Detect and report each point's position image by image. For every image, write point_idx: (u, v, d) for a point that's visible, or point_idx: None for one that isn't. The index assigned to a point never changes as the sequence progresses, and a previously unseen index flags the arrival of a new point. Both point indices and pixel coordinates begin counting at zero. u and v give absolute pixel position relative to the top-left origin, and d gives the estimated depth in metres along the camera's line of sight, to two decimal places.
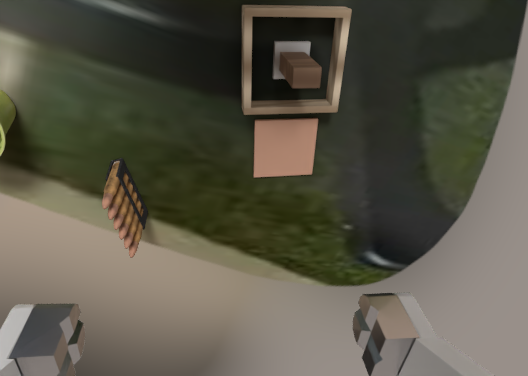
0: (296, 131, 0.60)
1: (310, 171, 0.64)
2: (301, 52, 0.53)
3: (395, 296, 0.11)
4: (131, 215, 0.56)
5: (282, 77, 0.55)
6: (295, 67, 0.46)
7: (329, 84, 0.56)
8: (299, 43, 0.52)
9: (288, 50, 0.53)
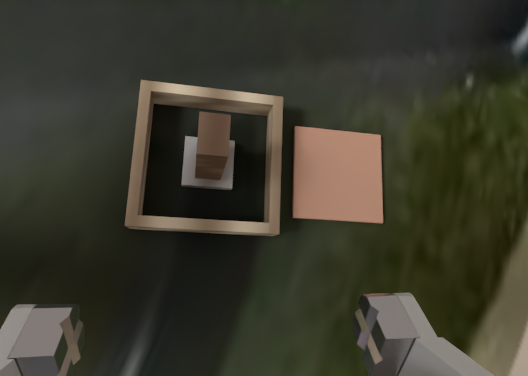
0: (312, 157, 0.41)
1: (375, 137, 0.43)
2: (196, 148, 0.38)
3: (395, 296, 0.11)
4: None
5: (230, 175, 0.38)
6: None
7: (244, 110, 0.40)
8: (185, 151, 0.38)
9: (194, 166, 0.38)
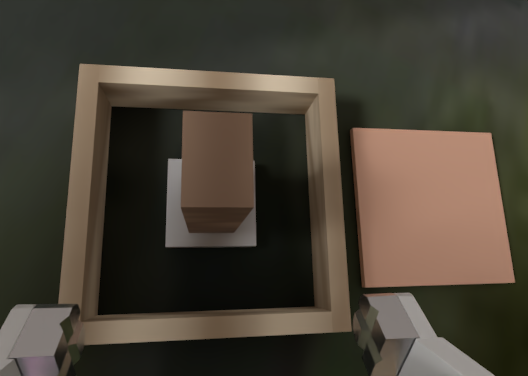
0: (386, 178, 0.24)
1: (484, 137, 0.26)
2: None
3: (395, 296, 0.11)
4: None
5: (252, 223, 0.22)
6: None
7: (267, 107, 0.24)
8: (169, 185, 0.21)
9: None
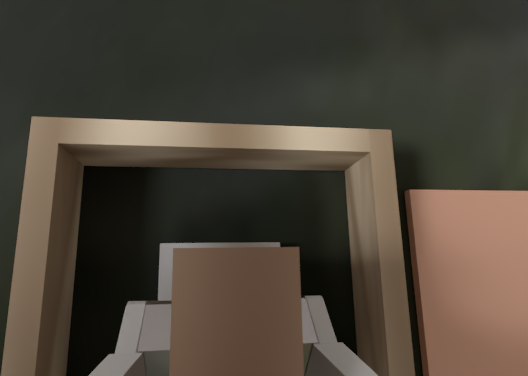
0: (456, 259, 0.18)
1: None
2: None
3: (304, 299, 0.11)
4: None
5: None
6: None
7: (296, 165, 0.17)
8: (161, 283, 0.15)
9: None
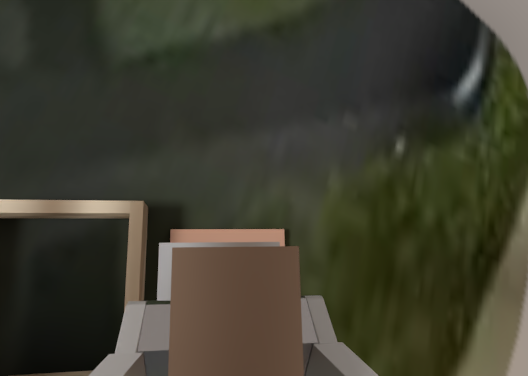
0: None
1: (278, 232, 0.34)
2: None
3: (304, 299, 0.11)
4: None
5: None
6: None
7: (101, 217, 0.32)
8: (160, 282, 0.15)
9: None
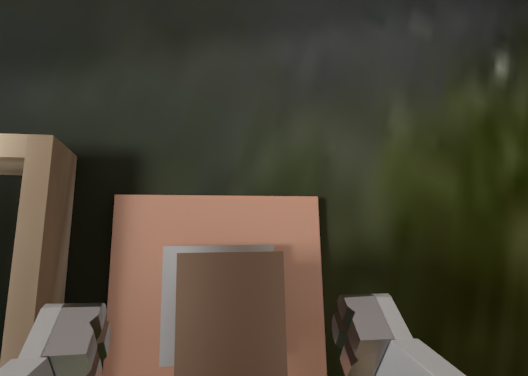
0: (154, 265, 0.18)
1: (307, 202, 0.19)
2: None
3: (373, 297, 0.11)
4: None
5: None
6: None
7: None
8: (164, 282, 0.17)
9: None
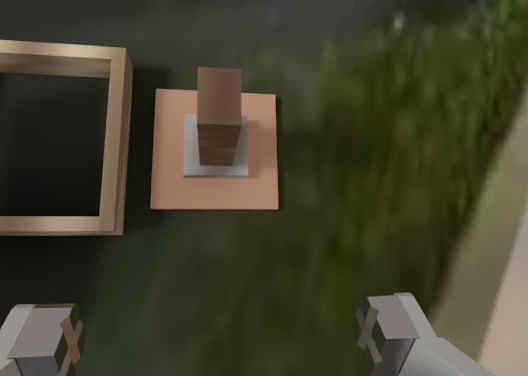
0: (179, 127, 0.31)
1: (268, 97, 0.33)
2: None
3: (395, 296, 0.11)
4: None
5: (245, 159, 0.30)
6: None
7: (83, 71, 0.30)
8: (185, 132, 0.30)
9: (198, 151, 0.30)
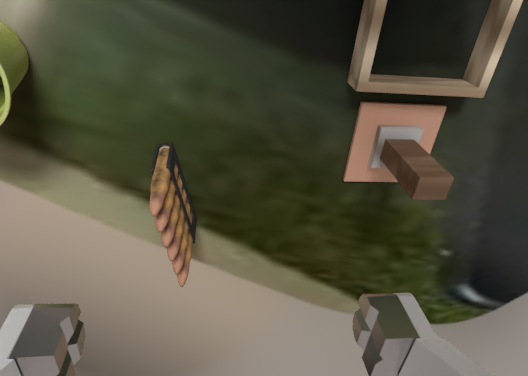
0: (413, 122, 0.43)
1: None
2: (411, 141, 0.43)
3: (395, 296, 0.11)
4: (182, 224, 0.39)
5: (381, 166, 0.45)
6: (421, 176, 0.36)
7: (475, 56, 0.40)
8: (410, 130, 0.43)
9: (394, 138, 0.43)
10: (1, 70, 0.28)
